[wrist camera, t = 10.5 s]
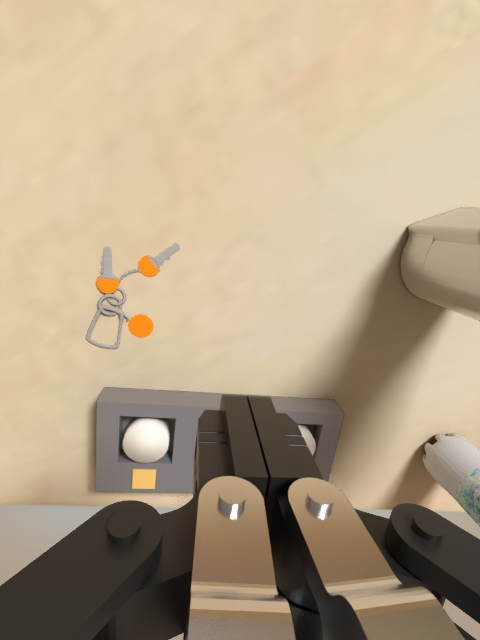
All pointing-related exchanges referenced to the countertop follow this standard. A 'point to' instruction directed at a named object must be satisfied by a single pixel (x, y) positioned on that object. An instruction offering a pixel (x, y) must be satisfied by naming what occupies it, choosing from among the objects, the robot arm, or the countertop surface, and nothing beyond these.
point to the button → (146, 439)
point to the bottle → (456, 470)
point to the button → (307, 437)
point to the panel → (187, 435)
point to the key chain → (110, 283)
